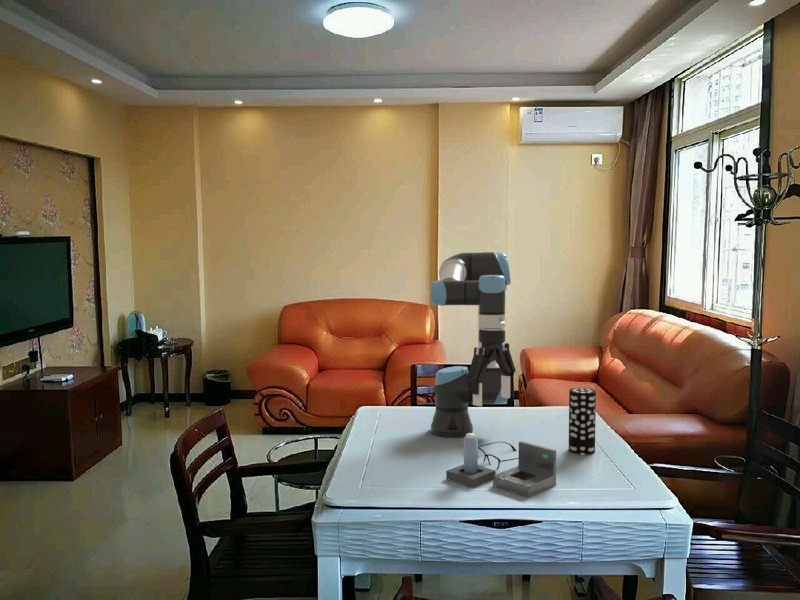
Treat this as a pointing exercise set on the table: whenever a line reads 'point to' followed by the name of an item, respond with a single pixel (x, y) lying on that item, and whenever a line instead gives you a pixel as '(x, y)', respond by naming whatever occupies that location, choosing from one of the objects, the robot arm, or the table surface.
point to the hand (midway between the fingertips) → (491, 401)
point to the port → (529, 471)
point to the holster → (470, 476)
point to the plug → (470, 454)
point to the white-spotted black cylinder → (582, 421)
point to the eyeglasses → (495, 456)
